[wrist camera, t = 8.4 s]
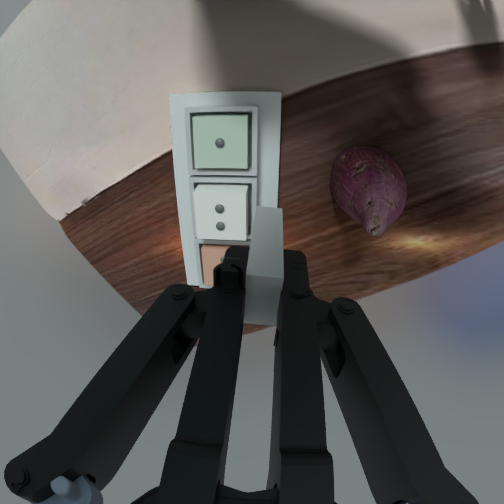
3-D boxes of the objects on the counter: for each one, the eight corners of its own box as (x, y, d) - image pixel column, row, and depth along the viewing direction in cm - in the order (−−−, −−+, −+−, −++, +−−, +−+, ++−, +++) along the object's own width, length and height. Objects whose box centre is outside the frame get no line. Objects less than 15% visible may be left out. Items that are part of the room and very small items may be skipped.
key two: (198, 184, 39) (192, 193, 36) (248, 184, 38) (245, 194, 36) (201, 227, 42) (196, 239, 39) (248, 229, 42) (246, 241, 39)
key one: (198, 114, 35) (191, 117, 32) (249, 113, 35) (247, 116, 32) (200, 161, 39) (194, 168, 36) (249, 161, 38) (247, 169, 35)
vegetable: (338, 207, 45) (332, 282, 35) (321, 147, 39) (310, 211, 29) (405, 199, 41) (420, 274, 30) (396, 135, 35) (418, 197, 24)
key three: (205, 238, 45) (200, 249, 42) (249, 239, 44) (247, 251, 42) (208, 273, 48) (204, 286, 46) (248, 275, 48) (247, 288, 45)
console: (171, 94, 35) (162, 96, 32) (281, 91, 34) (281, 93, 31) (189, 281, 51) (184, 294, 48) (272, 286, 50) (272, 300, 47)
